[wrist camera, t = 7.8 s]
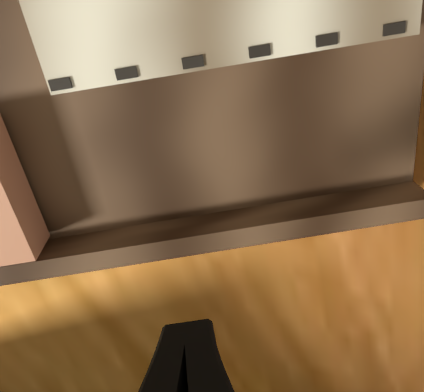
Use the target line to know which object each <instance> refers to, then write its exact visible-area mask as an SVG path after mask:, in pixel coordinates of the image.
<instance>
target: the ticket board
mask: <svg viewBox="0 0 424 392" xmlns="http://www.w3.org/2000/svg"><path fill="white" fill-rule="evenodd" d="M423 75H424V0H0V114H1V117H2V119H3V122H4V124H5V126H6V129H7V131H8V134H9V136H10V139H11V141H12V144H13V146H14V148H15V151H16V153H17V156H18V158H19V161H20V163H21V165H22V168H23V170H24V173H25V175H26V178H27V180H28V183H29V185H30V187H31V190H32V192H33V195H34V197H35V200H36V202H37V205H38V207H39V209H40V212H41V214H42V217H43V219H44V222H45V224H46V226H47V229H48V231H49V234H50V237H49V239H48V240H47V242H46V244H45V246H44V247H43V249H42V251H41V253H40V255H39V256H38V258H37V260H36V261H33V262H26V263H20V264H14V265H8V266H1V267H0V286H2V285H9V284H15V283H21V282H28V281H34V280H40V279H47V278H53V277H59V276H65V275H72V274H78V273H84V272H91V271H97V270H103V269H110V268H116V267H122V266H128V265H135V264H141V263H147V262H154V261H160V260H166V259H173V258H179V257H185V256H191V255H198V254H204V253H210V252H217V251H223V250H229V249H236V248H242V247H248V246H254V245H261V244H267V243H273V242H280V241H286V240H292V239H299V238H305V237H311V236H317V235H324V234H330V233H336V232H343V231H349V230H355V229H362V228H368V227H374V226H380V225H387V224H393V223H399V222H406V221H412V220H418V219H424V190H423V189H422V188H421V187H420V186H419V185H417V184H416V183H415V182H414V181H413V174H414V164H415V154H416V144H417V134H418V124H419V114H420V105H421V95H422V85H423Z"/></svg>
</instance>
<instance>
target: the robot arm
mask: <svg viewBox="0 0 424 392" xmlns="http://www.w3.org/2000/svg"><path fill="white" fill-rule="evenodd" d="M138 392H234V390H233V388H232V385H231V383H230V380H229V378H228V376H227V373H226V371H225V368H224V366H223V363H222V361H221V358H220V355H219V352H218V348H217V345H216V339H215V334H214V329H213V323H212V321H210V320H209V319H204V320H197V321H190V322H183V323H176V324H169V325H165V326H164V327H163V328H162V331H161V335H160V338H159V341H158V344H157V347H156V350H155V352H154V355H153V358H152V360H151V363H150V365H149V368H148V370H147V373H146V375H145V377H144V380H143V382H142V384H141V387H140V389H139V391H138Z"/></svg>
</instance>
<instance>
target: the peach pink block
mask: <svg viewBox="0 0 424 392" xmlns="http://www.w3.org/2000/svg"><path fill="white" fill-rule="evenodd" d="M49 237H50V234H49V231H48V229H47V226H46V224H45V222H44V219H43V217H42V214H41V212H40V209H39V207H38V205H37V202H36V200H35V197H34V195H33V192H32V190H31V187H30V185H29V183H28V180H27V178H26V175H25V173H24V170H23V168H22V165H21V163H20V161H19V158H18V156H17V153H16V151H15V148H14V146H13V144H12V141H11V139H10V136H9V134H8V131H7V129H6V126H5V124H4V122H3V119H2V117H1V114H0V267H1V266H8V265H14V264H20V263H26V262H33V261H36V260H37V258H38V256H39V255H40V253H41V251H42V249H43V247H44V246H45V244H46V242H47V240H48V239H49Z"/></svg>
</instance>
